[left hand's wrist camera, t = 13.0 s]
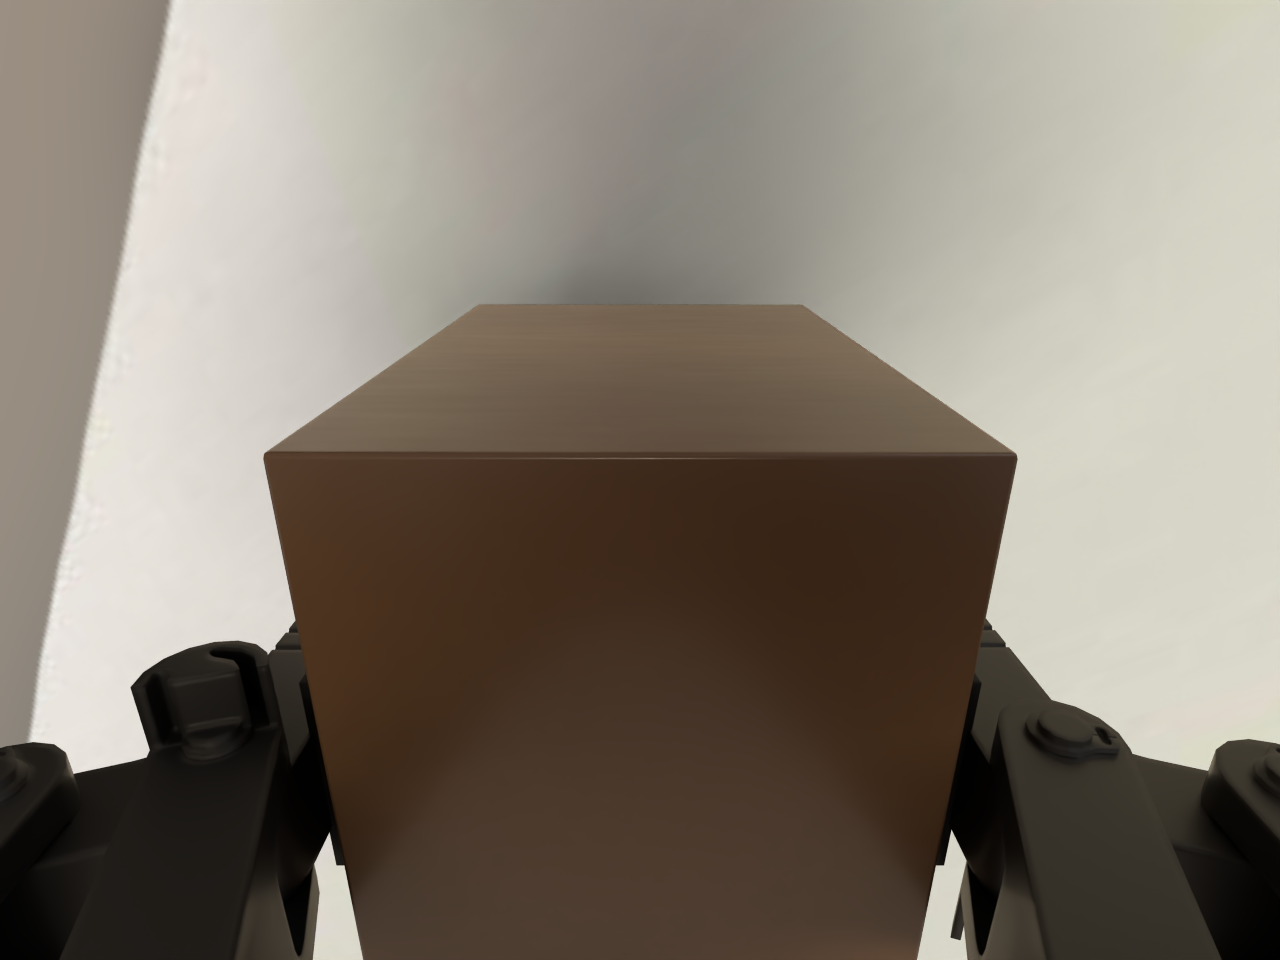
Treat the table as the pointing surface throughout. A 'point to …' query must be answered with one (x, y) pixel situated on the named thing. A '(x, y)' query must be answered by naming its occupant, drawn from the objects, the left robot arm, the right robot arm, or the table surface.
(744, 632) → the post
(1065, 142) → the table surface
